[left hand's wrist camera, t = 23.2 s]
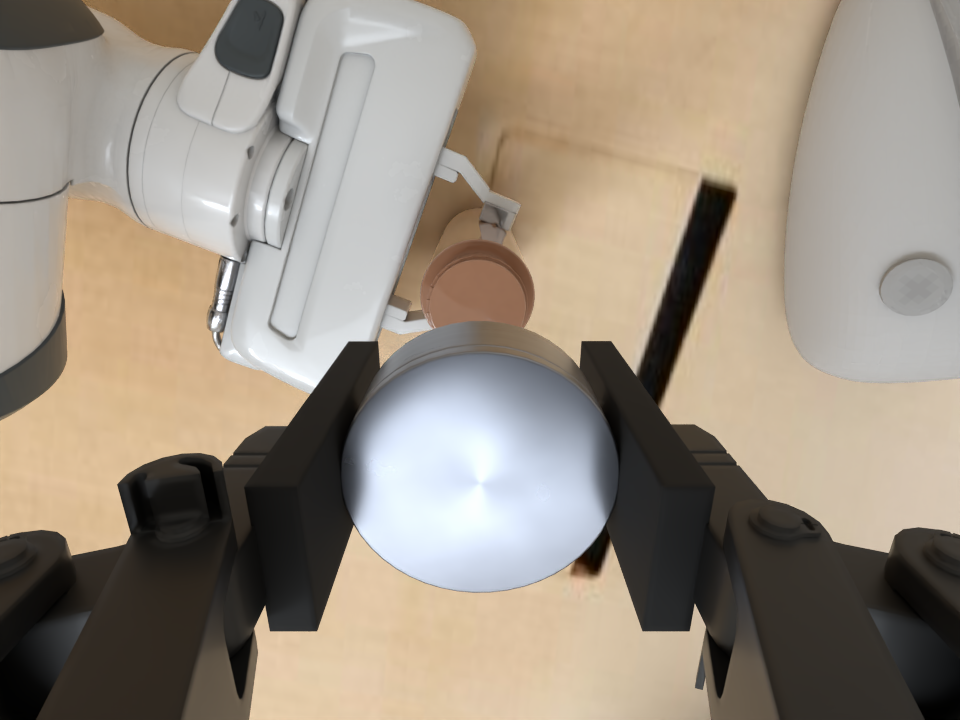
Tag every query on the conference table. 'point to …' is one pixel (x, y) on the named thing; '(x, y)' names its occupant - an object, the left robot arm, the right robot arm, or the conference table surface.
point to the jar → (476, 276)
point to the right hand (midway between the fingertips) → (493, 270)
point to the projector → (879, 197)
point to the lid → (479, 459)
